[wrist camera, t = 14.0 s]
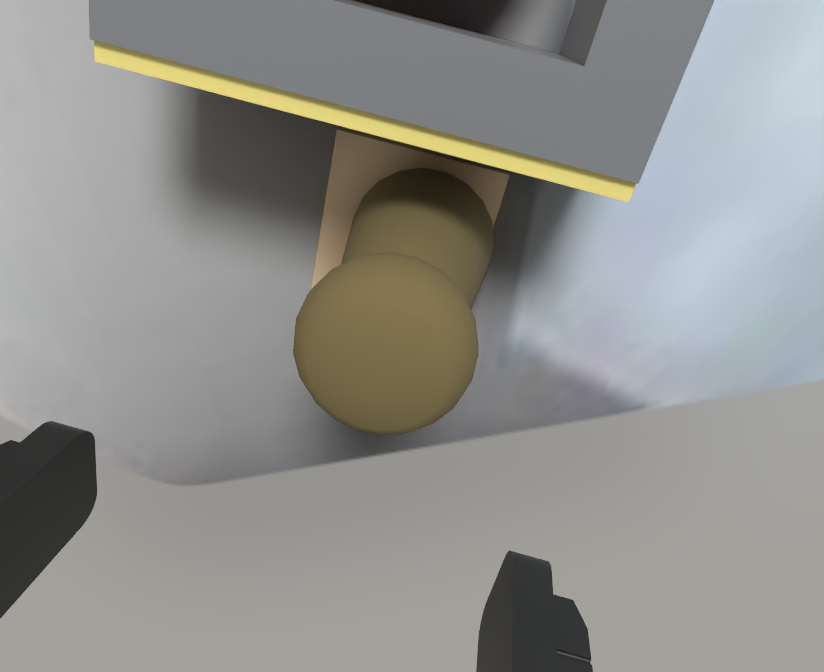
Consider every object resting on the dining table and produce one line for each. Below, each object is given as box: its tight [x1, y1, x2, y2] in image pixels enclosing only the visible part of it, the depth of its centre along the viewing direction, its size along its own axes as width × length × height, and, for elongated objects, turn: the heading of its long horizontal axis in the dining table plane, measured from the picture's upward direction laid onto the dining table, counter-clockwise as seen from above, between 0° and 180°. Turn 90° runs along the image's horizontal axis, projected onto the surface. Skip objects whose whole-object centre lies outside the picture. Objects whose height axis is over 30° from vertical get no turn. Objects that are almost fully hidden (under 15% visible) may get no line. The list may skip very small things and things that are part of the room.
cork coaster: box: [311, 127, 510, 289], centre depth 25 cm, size 7×7×1 cm
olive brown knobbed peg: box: [293, 168, 495, 435], centre depth 20 cm, size 6×6×11 cm
